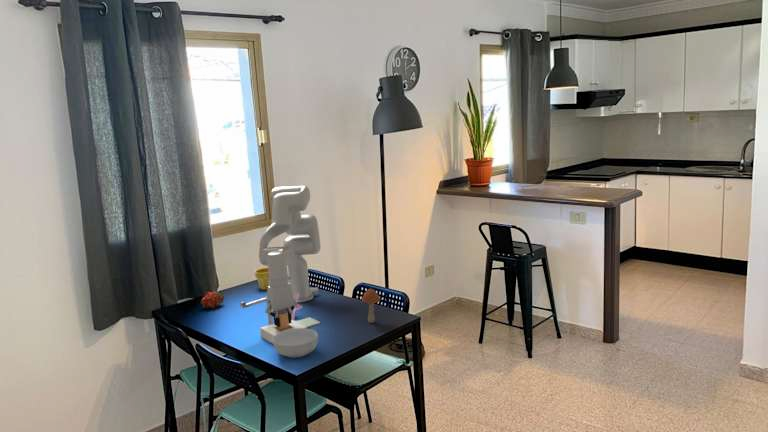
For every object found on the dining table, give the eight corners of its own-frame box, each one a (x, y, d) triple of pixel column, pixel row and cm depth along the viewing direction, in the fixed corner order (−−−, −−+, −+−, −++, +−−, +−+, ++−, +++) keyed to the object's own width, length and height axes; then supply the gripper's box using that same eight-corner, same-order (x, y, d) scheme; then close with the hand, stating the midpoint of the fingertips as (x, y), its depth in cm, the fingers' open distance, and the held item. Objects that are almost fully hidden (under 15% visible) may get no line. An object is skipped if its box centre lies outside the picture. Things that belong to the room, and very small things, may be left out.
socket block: (284, 324, 257) (281, 295, 255) (307, 336, 242) (305, 305, 239) (254, 333, 249) (251, 303, 246) (277, 346, 233) (274, 314, 231)
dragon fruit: (227, 307, 289) (203, 316, 284) (220, 294, 294) (197, 303, 288) (226, 297, 283) (202, 306, 278) (220, 284, 288) (195, 293, 282)
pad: (309, 318, 262) (309, 317, 262) (320, 323, 255) (320, 322, 255) (291, 323, 257) (291, 322, 257) (302, 329, 250) (302, 327, 250)
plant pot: (253, 291, 308) (251, 273, 306) (260, 285, 318) (259, 267, 316) (272, 290, 306) (270, 272, 304) (279, 284, 316) (277, 267, 315)
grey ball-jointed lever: (269, 297, 251) (268, 292, 251) (273, 299, 249) (272, 294, 249) (239, 307, 241) (239, 302, 241) (243, 308, 239) (243, 303, 239)
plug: (286, 332, 246) (283, 304, 244) (292, 335, 243) (289, 307, 241) (276, 335, 244) (273, 307, 241) (282, 338, 240) (279, 310, 238)
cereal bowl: (280, 366, 214) (278, 348, 213) (270, 350, 230) (268, 333, 228) (325, 356, 221) (323, 338, 220) (312, 341, 236) (310, 324, 235)
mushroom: (384, 319, 256) (382, 285, 253) (378, 326, 248) (375, 291, 245) (367, 318, 258) (364, 285, 255) (360, 324, 251) (358, 290, 248)
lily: (276, 316, 271) (270, 302, 265) (296, 301, 276) (291, 287, 270) (291, 329, 264) (286, 315, 257) (311, 313, 269) (306, 299, 263)
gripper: (292, 275, 247) (296, 316, 250) (255, 284, 237) (260, 327, 240) (301, 278, 241) (305, 321, 245) (264, 288, 231) (269, 332, 234)
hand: (283, 323), depth 242 cm, fingers closed on plug, 4 cm apart
